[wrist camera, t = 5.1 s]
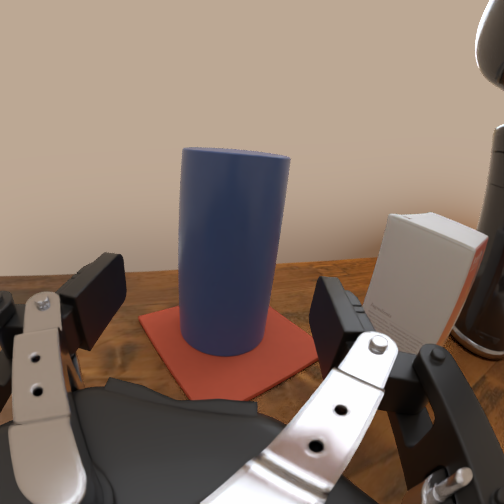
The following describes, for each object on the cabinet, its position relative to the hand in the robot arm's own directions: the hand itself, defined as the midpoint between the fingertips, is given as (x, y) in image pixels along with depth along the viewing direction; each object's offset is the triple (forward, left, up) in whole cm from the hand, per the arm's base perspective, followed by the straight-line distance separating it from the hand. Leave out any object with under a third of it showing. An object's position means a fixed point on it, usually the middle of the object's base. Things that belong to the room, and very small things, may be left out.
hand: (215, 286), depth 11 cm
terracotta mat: (-4, -4, -7) cm, 9 cm away
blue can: (-4, -5, -7) cm, 9 cm away
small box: (-13, +5, -8) cm, 16 cm away
